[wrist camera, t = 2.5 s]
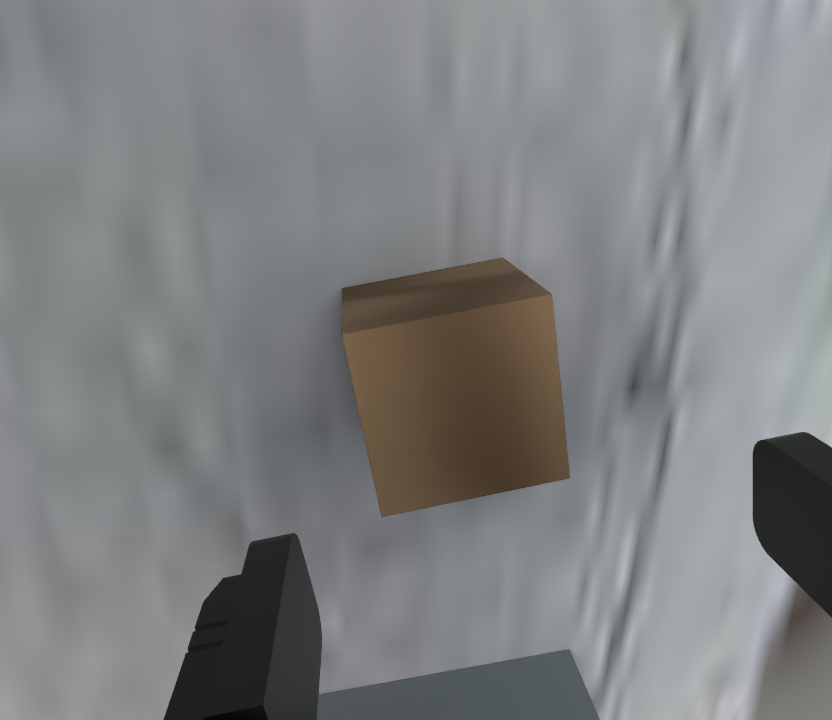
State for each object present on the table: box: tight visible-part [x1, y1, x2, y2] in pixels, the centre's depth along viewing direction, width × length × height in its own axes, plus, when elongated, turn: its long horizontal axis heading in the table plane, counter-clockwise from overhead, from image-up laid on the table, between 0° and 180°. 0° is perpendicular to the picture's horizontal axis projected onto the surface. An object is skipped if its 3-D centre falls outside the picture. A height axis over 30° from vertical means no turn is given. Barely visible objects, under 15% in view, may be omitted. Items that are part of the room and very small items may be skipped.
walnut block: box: [342, 258, 570, 517], centre depth 18 cm, size 5×5×5 cm
